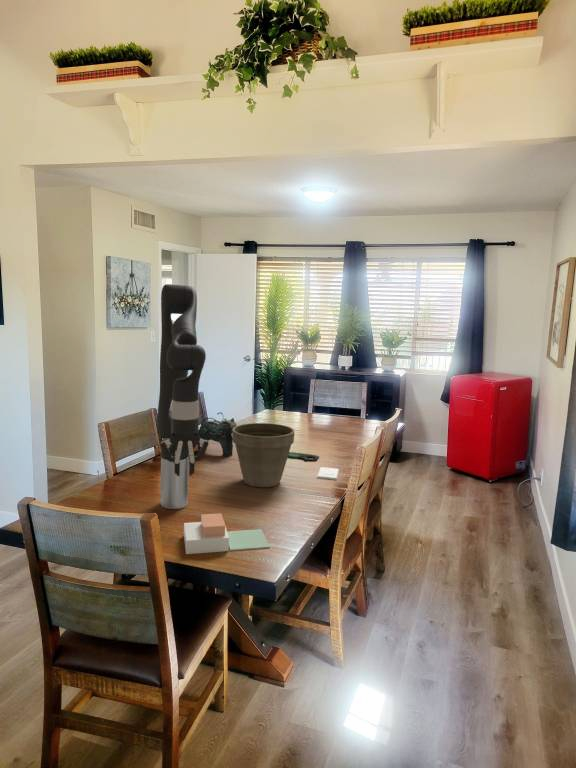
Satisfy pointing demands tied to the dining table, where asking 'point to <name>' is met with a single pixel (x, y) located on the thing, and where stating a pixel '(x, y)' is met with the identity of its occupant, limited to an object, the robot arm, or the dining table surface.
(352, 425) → the dining table surface
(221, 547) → the block
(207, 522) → the terracotta tile
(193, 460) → the robot arm
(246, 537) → the green mat
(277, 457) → the plant pot
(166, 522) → the dining table surface
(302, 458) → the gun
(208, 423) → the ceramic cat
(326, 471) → the external hard drive
